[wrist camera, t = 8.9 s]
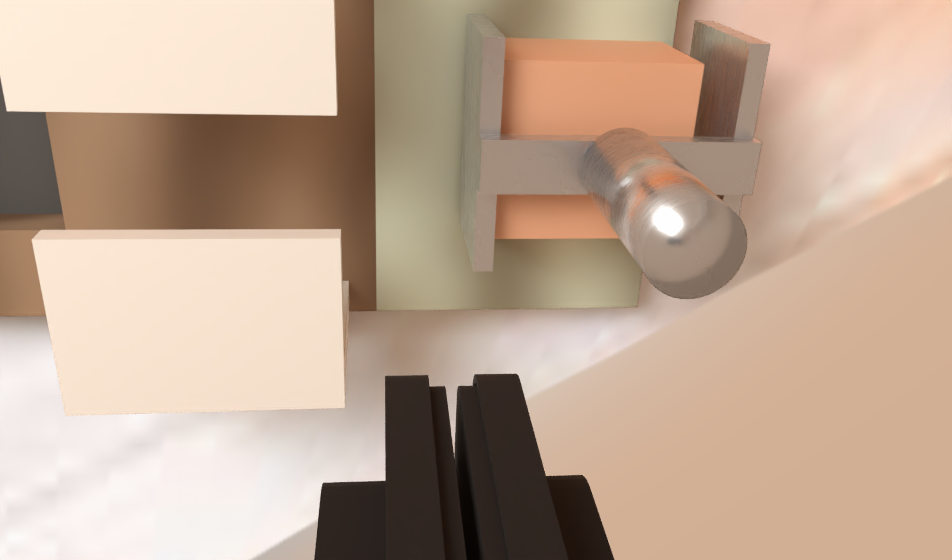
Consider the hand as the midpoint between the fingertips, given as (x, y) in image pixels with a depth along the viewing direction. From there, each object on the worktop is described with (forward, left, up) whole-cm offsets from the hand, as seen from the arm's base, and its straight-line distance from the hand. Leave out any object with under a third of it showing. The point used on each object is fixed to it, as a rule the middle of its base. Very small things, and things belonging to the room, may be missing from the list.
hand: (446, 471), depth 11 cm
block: (-6, 0, -20) cm, 20 cm away
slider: (-6, 0, -19) cm, 20 cm away
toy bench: (+6, 0, -19) cm, 20 cm away
